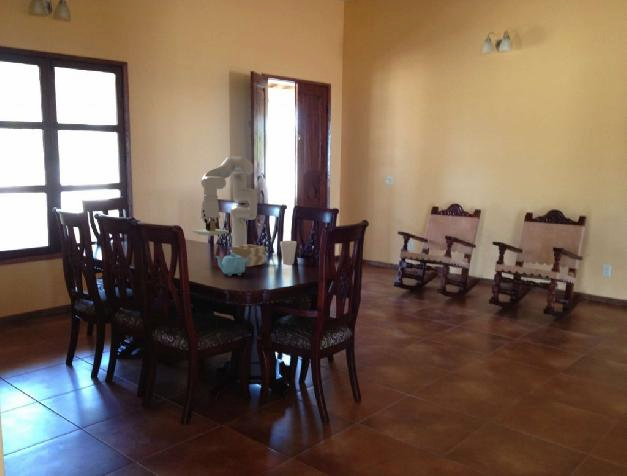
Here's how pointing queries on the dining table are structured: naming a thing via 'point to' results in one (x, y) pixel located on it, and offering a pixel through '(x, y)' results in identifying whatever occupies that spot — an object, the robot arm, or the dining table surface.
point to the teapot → (233, 264)
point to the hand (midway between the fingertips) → (210, 229)
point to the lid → (211, 230)
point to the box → (251, 253)
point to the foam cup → (288, 251)
